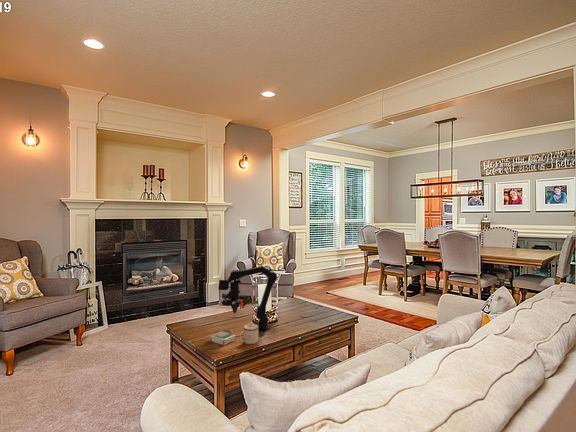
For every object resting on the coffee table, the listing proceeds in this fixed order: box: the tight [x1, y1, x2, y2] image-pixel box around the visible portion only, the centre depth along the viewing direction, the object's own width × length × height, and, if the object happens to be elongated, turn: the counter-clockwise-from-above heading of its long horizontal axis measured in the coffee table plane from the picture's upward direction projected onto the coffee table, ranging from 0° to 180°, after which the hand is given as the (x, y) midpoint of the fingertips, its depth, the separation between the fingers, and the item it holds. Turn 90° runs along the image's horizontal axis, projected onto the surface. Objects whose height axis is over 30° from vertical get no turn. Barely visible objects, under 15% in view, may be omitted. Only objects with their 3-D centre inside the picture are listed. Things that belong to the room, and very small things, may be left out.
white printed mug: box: [239, 321, 259, 345], centre depth 199 cm, size 12×9×12 cm
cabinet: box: [214, 329, 232, 339], centre depth 202 cm, size 8×6×5 cm
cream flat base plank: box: [210, 331, 236, 346], centre depth 202 cm, size 10×11×3 cm
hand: (234, 313), depth 218 cm, fingers closed
